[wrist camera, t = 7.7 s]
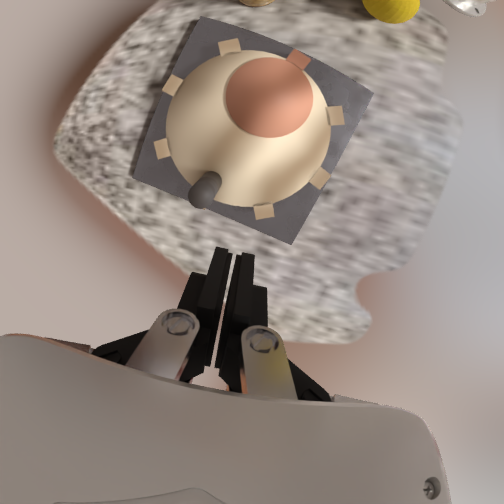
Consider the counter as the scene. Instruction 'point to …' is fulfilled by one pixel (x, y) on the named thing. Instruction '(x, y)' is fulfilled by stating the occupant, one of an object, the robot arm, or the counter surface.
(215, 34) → the dial base
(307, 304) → the counter surface
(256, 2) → the sprinkles bottle
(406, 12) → the lemon
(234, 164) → the sprocket dial
